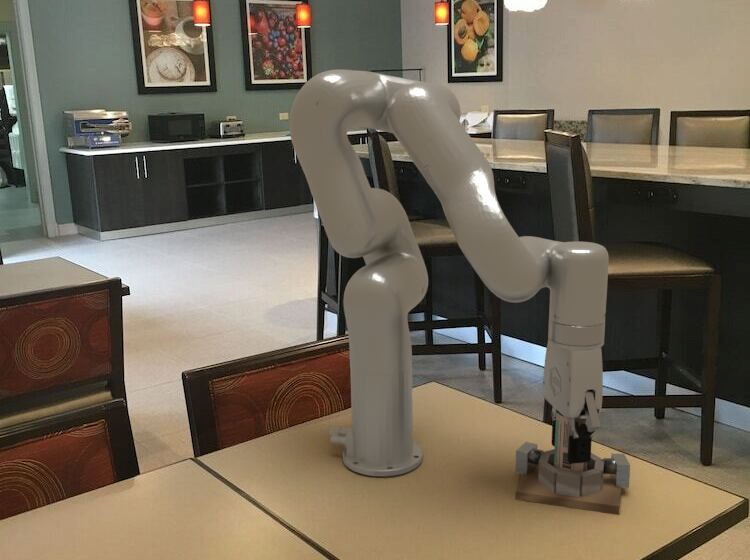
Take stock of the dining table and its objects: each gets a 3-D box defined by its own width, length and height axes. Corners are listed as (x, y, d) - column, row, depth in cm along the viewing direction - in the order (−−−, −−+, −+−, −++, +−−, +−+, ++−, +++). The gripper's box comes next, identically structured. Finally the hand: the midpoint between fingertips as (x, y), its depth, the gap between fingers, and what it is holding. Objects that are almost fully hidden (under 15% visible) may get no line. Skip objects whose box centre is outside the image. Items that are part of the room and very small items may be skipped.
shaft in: (545, 468, 118) (546, 446, 118) (535, 477, 116) (536, 455, 115) (525, 462, 120) (525, 441, 119) (515, 472, 117) (516, 450, 116)
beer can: (594, 475, 113) (598, 396, 110) (564, 480, 111) (568, 400, 108) (575, 461, 117) (579, 384, 114) (547, 466, 116) (550, 388, 113)
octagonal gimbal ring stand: (515, 499, 112) (516, 472, 111) (527, 465, 122) (528, 440, 121) (619, 514, 107) (620, 486, 106) (622, 477, 118) (623, 451, 117)
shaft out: (605, 487, 112) (607, 464, 112) (600, 475, 116) (601, 453, 115) (628, 487, 112) (630, 464, 111) (622, 475, 116) (624, 453, 115)
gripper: (527, 317, 117) (523, 431, 121) (577, 352, 101) (571, 484, 105) (575, 313, 118) (569, 427, 122) (632, 348, 102) (623, 478, 106)
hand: (570, 452), depth 113 cm, fingers closed on beer can, 4 cm apart
